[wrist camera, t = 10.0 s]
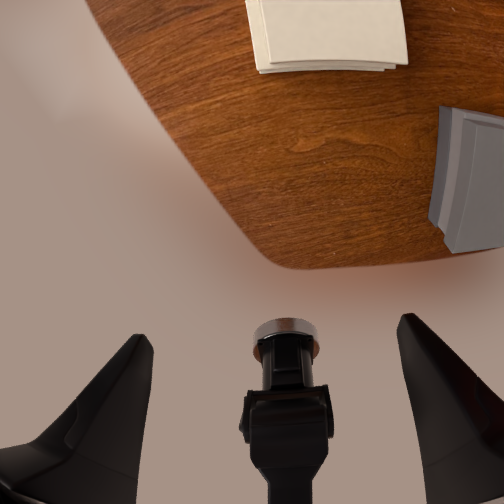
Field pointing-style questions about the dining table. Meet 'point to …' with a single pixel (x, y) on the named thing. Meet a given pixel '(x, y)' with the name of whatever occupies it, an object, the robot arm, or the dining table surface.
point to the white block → (334, 31)
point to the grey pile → (469, 180)
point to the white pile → (265, 67)
